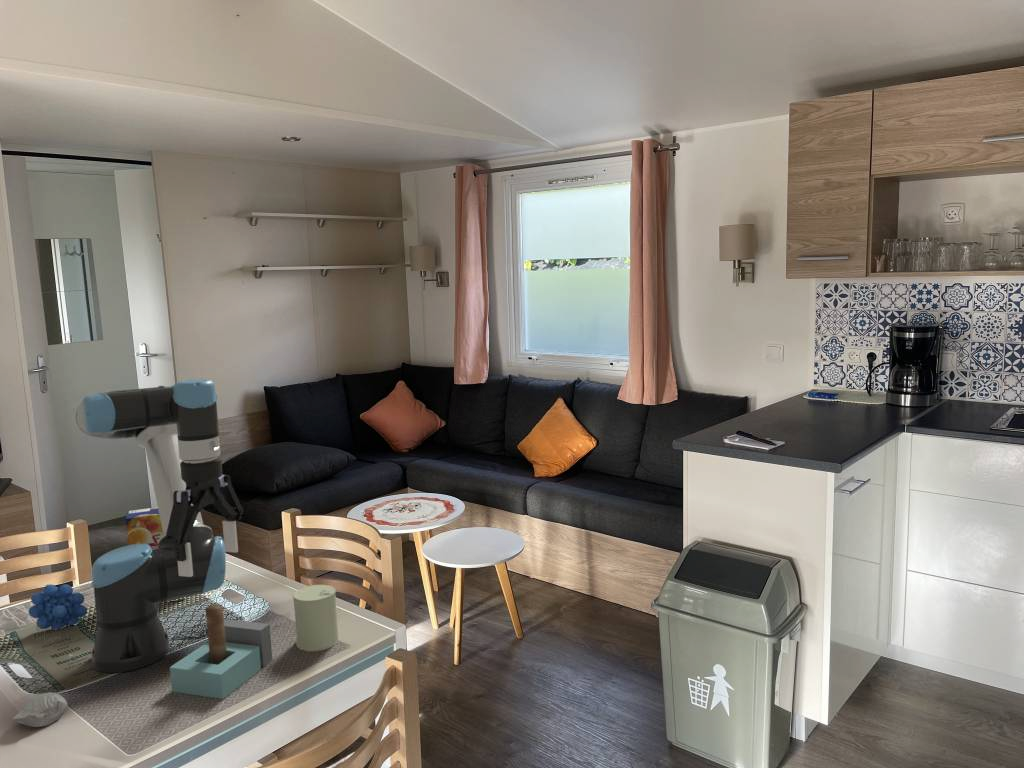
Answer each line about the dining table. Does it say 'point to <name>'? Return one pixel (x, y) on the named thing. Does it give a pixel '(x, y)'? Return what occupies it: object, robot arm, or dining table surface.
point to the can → (316, 617)
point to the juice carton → (144, 527)
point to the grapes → (57, 607)
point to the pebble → (42, 710)
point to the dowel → (216, 633)
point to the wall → (250, 636)
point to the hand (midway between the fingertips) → (209, 563)
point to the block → (215, 671)
